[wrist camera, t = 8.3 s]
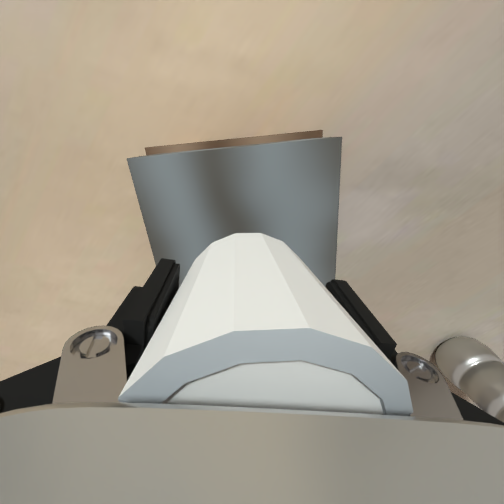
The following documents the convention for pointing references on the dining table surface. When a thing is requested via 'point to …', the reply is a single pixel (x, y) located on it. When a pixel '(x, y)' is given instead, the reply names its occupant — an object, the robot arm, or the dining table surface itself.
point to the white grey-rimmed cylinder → (263, 340)
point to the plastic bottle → (474, 372)
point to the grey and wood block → (242, 195)
